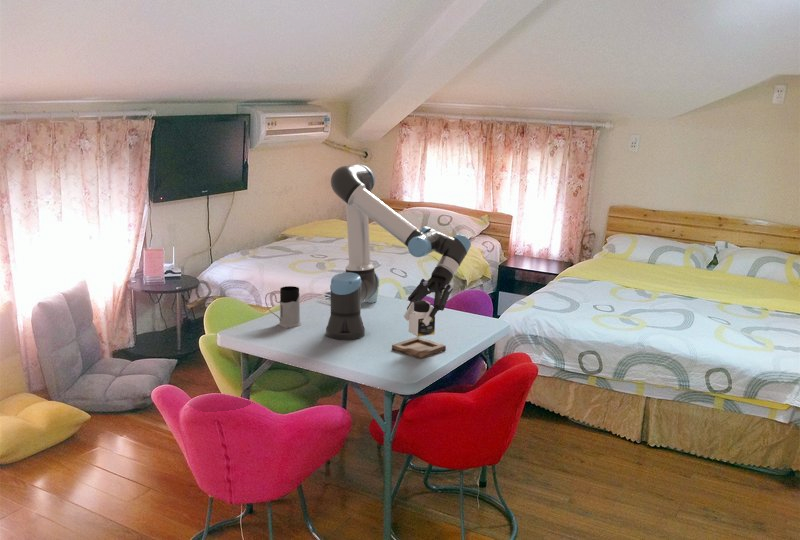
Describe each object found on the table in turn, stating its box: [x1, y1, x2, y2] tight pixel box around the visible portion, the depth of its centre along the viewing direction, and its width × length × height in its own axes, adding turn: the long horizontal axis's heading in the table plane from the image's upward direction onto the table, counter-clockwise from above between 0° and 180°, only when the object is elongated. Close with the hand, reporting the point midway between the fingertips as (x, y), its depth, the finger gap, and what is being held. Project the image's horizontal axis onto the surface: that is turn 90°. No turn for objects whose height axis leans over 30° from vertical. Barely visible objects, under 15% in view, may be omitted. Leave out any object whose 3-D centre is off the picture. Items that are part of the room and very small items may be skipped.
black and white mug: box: [264, 285, 302, 328], centre depth 282 cm, size 9×14×15 cm, turn 109°
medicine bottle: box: [408, 299, 436, 338], centre depth 255 cm, size 7×7×12 cm
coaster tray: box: [391, 336, 447, 360], centre depth 258 cm, size 14×14×2 cm
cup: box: [364, 289, 379, 304], centre depth 321 cm, size 8×8×10 cm
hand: (415, 321), depth 253 cm, fingers closed on medicine bottle, 8 cm apart
